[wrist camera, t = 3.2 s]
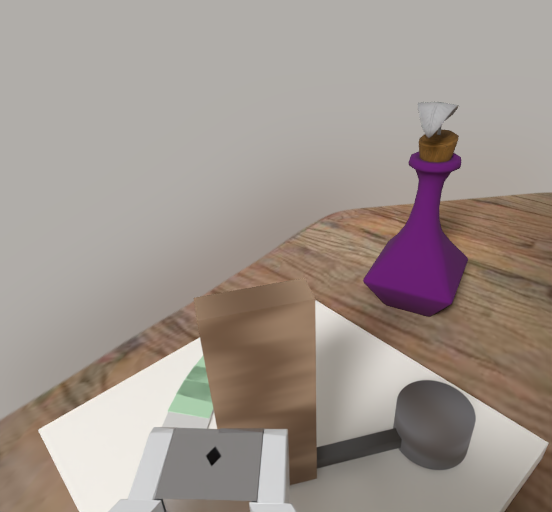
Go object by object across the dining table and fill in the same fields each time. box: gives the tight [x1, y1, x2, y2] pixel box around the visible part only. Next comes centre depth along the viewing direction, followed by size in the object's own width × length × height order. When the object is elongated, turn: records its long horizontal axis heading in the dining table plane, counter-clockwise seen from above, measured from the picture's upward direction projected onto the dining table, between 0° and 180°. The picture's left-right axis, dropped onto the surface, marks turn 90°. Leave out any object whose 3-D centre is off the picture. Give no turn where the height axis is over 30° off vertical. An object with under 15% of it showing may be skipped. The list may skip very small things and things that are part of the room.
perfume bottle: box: [363, 102, 468, 316], centre depth 38 cm, size 8×8×18 cm
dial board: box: [38, 300, 548, 512], centre depth 29 cm, size 23×23×2 cm
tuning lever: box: [194, 278, 476, 485], centre depth 23 cm, size 18×4×13 cm, turn 103°
